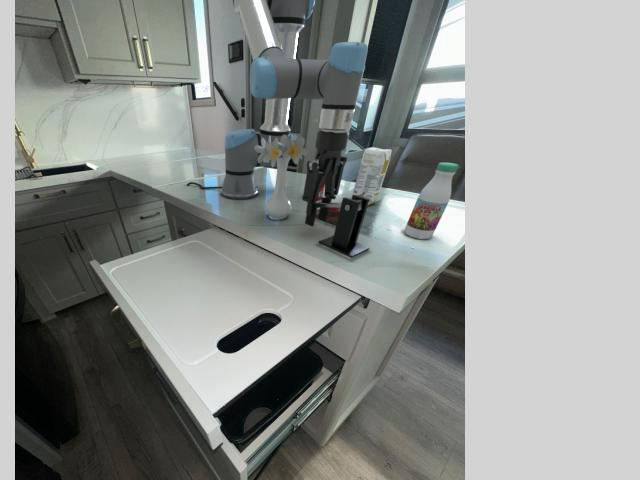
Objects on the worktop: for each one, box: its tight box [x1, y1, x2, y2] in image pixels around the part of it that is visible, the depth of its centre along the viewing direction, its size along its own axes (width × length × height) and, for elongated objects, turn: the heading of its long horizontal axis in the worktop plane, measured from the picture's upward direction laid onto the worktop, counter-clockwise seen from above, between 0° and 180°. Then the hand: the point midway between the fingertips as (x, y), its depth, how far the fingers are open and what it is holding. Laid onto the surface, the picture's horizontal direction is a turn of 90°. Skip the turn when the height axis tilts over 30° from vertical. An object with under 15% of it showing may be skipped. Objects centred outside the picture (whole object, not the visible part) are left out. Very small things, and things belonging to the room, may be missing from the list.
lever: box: [317, 200, 362, 211], centre depth 71 cm, size 13×5×2 cm, turn 37°
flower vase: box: [254, 133, 309, 221], centre depth 86 cm, size 13×18×25 cm
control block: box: [315, 208, 340, 227], centre depth 91 cm, size 11×9×4 cm
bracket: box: [318, 194, 370, 259], centre depth 71 cm, size 11×8×14 cm
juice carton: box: [352, 146, 393, 206], centre depth 101 cm, size 8×9×19 cm
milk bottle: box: [403, 162, 459, 240], centre depth 77 cm, size 8×8×20 cm
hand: (315, 222), depth 79 cm, fingers closed on lever, 5 cm apart
